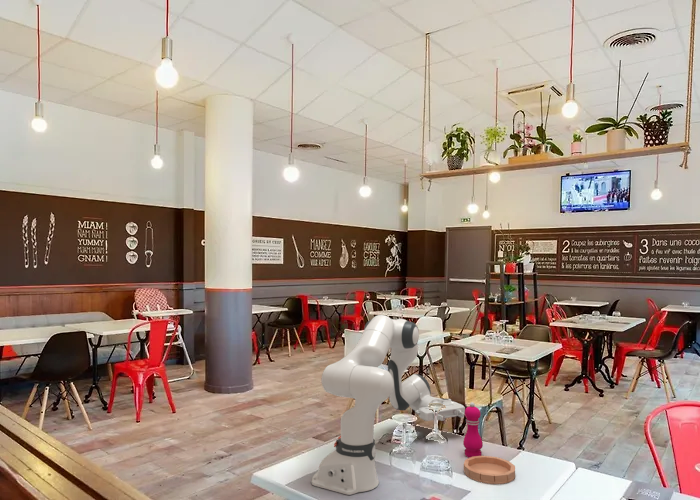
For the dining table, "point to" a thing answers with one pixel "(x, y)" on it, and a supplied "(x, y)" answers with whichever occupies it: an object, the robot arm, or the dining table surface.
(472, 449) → the pepper mill
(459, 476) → the dining table surface
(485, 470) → the round tray
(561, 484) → the dining table surface
